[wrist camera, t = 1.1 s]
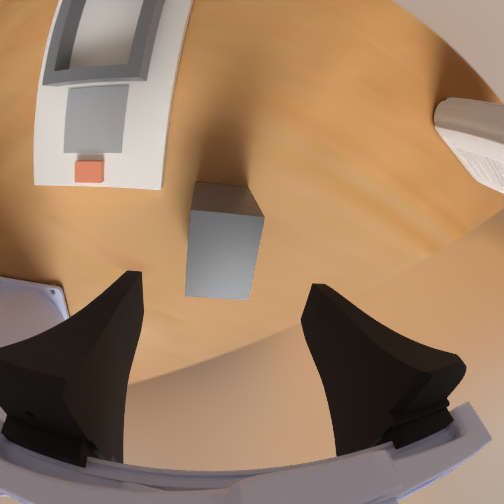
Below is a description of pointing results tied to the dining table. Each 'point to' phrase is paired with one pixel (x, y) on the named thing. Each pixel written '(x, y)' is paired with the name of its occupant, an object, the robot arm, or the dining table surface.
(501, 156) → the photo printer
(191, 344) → the dining table surface
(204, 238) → the gray block
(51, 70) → the white flat rectangular base
